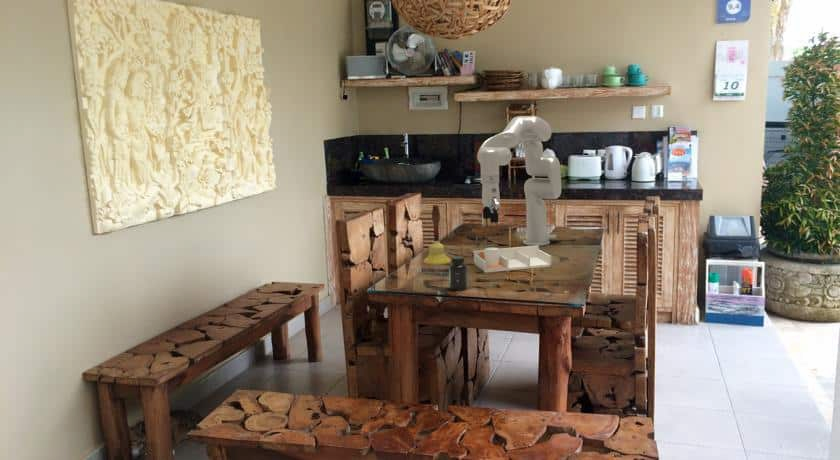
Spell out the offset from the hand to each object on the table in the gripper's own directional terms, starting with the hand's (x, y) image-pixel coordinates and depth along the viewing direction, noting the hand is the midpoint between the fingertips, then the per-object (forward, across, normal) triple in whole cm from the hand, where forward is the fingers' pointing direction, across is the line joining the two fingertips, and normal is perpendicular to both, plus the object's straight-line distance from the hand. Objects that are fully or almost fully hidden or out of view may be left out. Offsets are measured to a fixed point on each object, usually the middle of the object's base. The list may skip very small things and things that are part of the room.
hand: (490, 220), depth 297 cm
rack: (+20, 0, -9) cm, 22 cm away
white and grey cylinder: (+19, -1, 0) cm, 19 cm away
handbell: (+20, +20, +19) cm, 34 cm away
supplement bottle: (+20, -26, +22) cm, 40 cm away
